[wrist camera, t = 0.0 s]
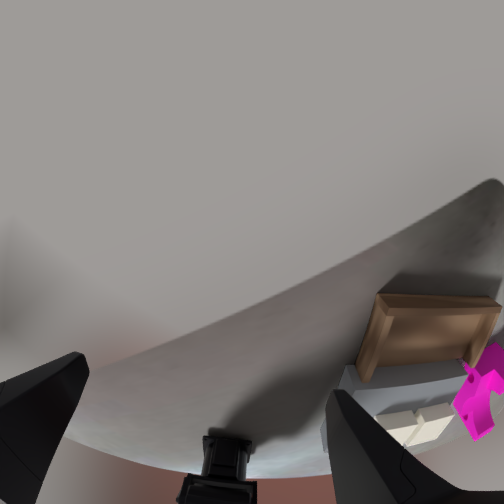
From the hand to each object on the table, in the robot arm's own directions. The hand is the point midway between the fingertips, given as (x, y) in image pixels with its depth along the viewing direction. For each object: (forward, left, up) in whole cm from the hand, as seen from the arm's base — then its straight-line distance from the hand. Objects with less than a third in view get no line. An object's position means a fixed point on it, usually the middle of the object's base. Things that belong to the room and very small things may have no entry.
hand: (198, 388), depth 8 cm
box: (-7, -22, -15) cm, 27 cm away
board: (-17, -20, -15) cm, 31 cm away
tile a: (-18, -25, -11) cm, 33 cm away
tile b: (-18, -19, -11) cm, 28 cm away
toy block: (-18, -37, -16) cm, 44 cm away
